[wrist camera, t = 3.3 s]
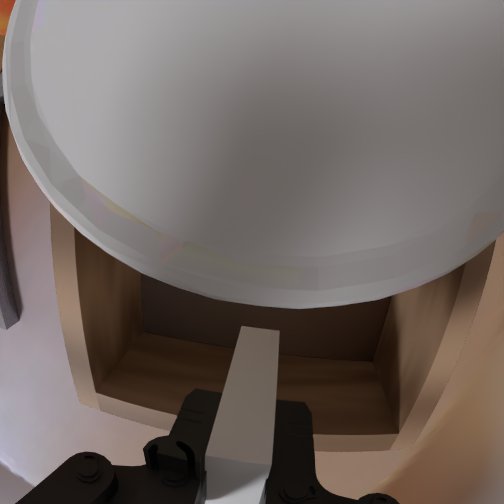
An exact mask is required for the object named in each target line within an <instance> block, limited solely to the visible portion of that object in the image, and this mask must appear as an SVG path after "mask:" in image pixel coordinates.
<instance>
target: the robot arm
mask: <svg viewBox="0 0 504 504" xmlns="http://www.w3.org/2000/svg"><path fill="white" fill-rule="evenodd" d="M278 353H279V331H277V330H269V329H261V328H254V327H246V326H241V330H240V333H239V337H238V340H237V344H236V348H235V351H234V355H233V358H232V362H231V366H230V369H229V373H228V376H227V380H226V383H225V387H224V390H223V393H220V392H214V391H208V390H203V389H197V388H195V389H194V390H193V391H192V392H191V393H189V394H188V395H187V396H186V397H185V399H184V401H183V403H182V406H181V409H180V410H179V413H178V415H177V419H176V420H175V422H174V424H173V427H172V429H171V431H170V434H169V436H168V435H167V436H162V437H157V438H155V439H153V440H151V441H149V442H148V443H147V444H146V446H145V447H144V448H143V452H144V456H145V461H146V464H145V465H142V466H118V465H112V464H111V462H110V461H109V460H108V459H106V458H105V457H104V456H102V455H100V454H98V453H94V452H82V453H77V454H75V455H73V456H72V457H70V458H69V459H68V460H66V461H65V462H64V463H63V464H62V465H61V466H59V467H58V468H57V469H56V470H55V471H54V472H52V473H51V474H50V475H49V476H48V477H47V478H45V479H44V480H43V481H42V482H41V483H39V484H38V485H37V486H36V487H35V488H33V489H32V490H31V491H30V492H29V493H28V494H26V495H25V496H24V497H23V498H22V499H20V500H19V501H18V502H17V503H15V504H399V503H398V502H397V500H396V499H394V498H392V497H391V496H389V495H386V494H381V493H373V494H367V495H365V496H363V497H361V498H359V500H355V499H350V498H346V497H342V496H338V495H335V494H333V493H330V492H329V491H327V490H326V489H324V488H323V487H322V486H321V484H320V483H319V481H318V479H317V477H316V471H315V453H314V437H313V427H312V426H313V423H312V413H311V411H310V410H309V408H308V406H307V405H306V403H305V402H298V401H287V400H277V399H276V391H277V373H278Z"/></svg>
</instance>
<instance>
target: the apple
mask: <svg viewBox="0 0 504 504" xmlns="http://www.w3.org/2000/svg"><path fill="white" fill-rule="evenodd" d="M15 1H16V0H0V35H4V36H6V32H7V28H8V24H9V19H10V16H11V13H12V10H13V7H14V4H15Z"/></svg>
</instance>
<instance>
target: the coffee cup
mask: <svg viewBox="0 0 504 504" xmlns="http://www.w3.org/2000/svg"><path fill="white" fill-rule="evenodd" d="M2 74H3V92H4V100H5V108H6V113H7V116H8V120H9V123H10V126H11V130H12V133H13V135H14V138H15V141H16V144H17V146H18V149H19V152H20V154H21V157H22V159H23V161H24V163H25V165H26V166H27V168H28V170H29V171H30V173H31V174H32V176H33V178H34V179H35V181H36V183H37V184H38V186H39V187H40V188H41V190H42V191H43V192H44V194H45V195H46V196H47V198H48V199H49V200H50V202H51V203H52V204H53V205H54V207H55V208H56V209H57V210H58V211H59V212H60V213H61V214H62V215H63V216H64V217H65V218H66V219H67V220H68V221H69V222H70V223H71V224H72V225H73V226H74V227H75V228H76V229H77V230H78V231H79V232H80V233H81V234H83V235H84V236H85V237H87V238H88V239H89V240H91V241H92V242H93V243H95V244H96V245H97V246H99V247H100V248H101V249H103V250H104V251H106V252H107V253H108V254H110V255H112V256H113V257H115V258H117V259H118V260H120V261H122V262H123V263H125V264H127V265H129V266H130V267H132V268H134V269H135V270H137V271H139V272H141V273H142V274H145V275H147V276H150V277H152V278H155V279H157V280H160V281H162V282H165V283H167V284H170V285H172V286H175V287H178V288H181V289H184V290H187V291H190V292H193V293H197V294H200V295H203V296H206V297H209V298H213V299H216V300H222V301H228V302H235V303H242V304H249V305H256V306H267V307H279V308H292V309H304V308H317V307H330V306H341V305H347V304H354V303H361V302H367V301H374V300H379V299H382V298H385V297H388V296H391V295H395V294H398V293H401V292H404V291H407V290H410V289H413V288H416V287H418V286H421V285H423V284H425V283H428V282H430V281H432V280H435V279H437V278H439V277H441V276H444V275H446V274H448V273H449V272H451V271H453V270H454V269H456V268H457V267H459V266H461V265H462V264H464V263H465V262H467V261H469V260H470V259H472V258H473V257H475V256H476V255H478V254H479V253H480V252H481V251H483V250H484V249H485V248H486V247H487V246H489V245H490V244H491V243H492V242H493V241H495V240H496V239H497V238H498V237H499V236H500V235H501V234H502V233H503V232H504V0H16V1H15V4H14V7H13V10H12V13H11V16H10V19H9V24H8V28H7V32H6V37H5V44H4V52H3V62H2Z"/></svg>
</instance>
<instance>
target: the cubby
mask: <svg viewBox="0 0 504 504" xmlns="http://www.w3.org/2000/svg"><path fill="white" fill-rule="evenodd" d="M50 219H51V241H52V255H53V267H54V277H55V285H56V293H57V300H58V307H59V314H60V320H61V325H62V331H63V336H64V341H65V346H66V351H67V355H68V360H69V364H70V368H71V372H72V376H73V380H74V384H75V388H76V391H77V395H78V398H79V402H80V403H81V404H84V405H86V406H89V407H92V408H94V409H97V410H100V411H103V412H106V413H109V414H112V415H115V416H118V417H121V418H125V419H128V420H131V421H135V422H138V423H141V424H145V425H149V426H152V427H156V428H160V429H164V430H168V431H171V429H172V427H173V424H174V422H175V420H176V419H177V415H178V413H179V410H180V409H181V406H182V403H183V401H184V399H185V397H186V396H187V395H188V394H189V393H191V392H192V391H193V390H194V389H195V388H197V389H203V390H208V391H214V392H220V393H223V390H224V387H225V383H226V380H227V376H228V373H229V369H230V366H231V362H232V358H233V355H234V351H235V348H228V347H221V346H215V345H209V344H203V343H197V342H192V341H186V340H181V339H175V338H170V337H165V336H160V335H155V334H150V333H146V332H143V318H142V295H141V272H139V271H137V270H135V269H134V268H132V267H130V266H129V265H127V264H125V263H123V262H122V261H120V260H118V259H117V258H115V257H113V256H112V255H110V254H108V253H107V252H106V251H104V250H103V249H101V248H100V247H99V246H97V245H96V244H95V243H93V242H92V241H91V240H89V239H88V238H87V237H85V236H84V235H83V234H81V233H80V232H79V231H78V230H77V229H76V228H75V227H74V226H73V225H72V224H71V223H70V222H69V221H68V220H67V219H66V218H65V217H64V216H63V215H62V214H61V213H60V212H59V211H58V210H57V209H56V208H55V207H54V205H53V204H52V203H51V202H50ZM495 242H496V240H495V241H493V242H492V243H491V244H490V245H489V246H487V247H486V248H485V249H484V250H483V251H481V252H480V253H479V254H478V255H476V256H475V257H473V258H472V259H470V260H469V261H467V262H465V263H464V264H462V265H461V266H459V267H457V268H456V269H454V270H453V271H451V272H449V273H448V274H446V275H444V276H441V277H439V278H437V279H435V280H432V281H430V282H428V283H425V284H423V285H421V286H418V287H416V288H413V289H410V290H407V291H404V292H401V293H398V294H395V295H392V297H391V301H390V304H389V308H388V312H387V315H386V319H385V322H384V326H383V329H382V332H381V336H380V339H379V342H378V345H377V349H376V352H375V355H374V358H373V361H372V362H367V361H349V360H335V359H322V358H310V357H300V356H290V355H281V354H278V373H277V391H276V399H277V400H287V401H298V402H305V403H306V405H307V406H308V408H309V410H310V411H311V413H312V423H313V426H312V427H313V437H314V451H326V452H362V451H385V450H400V449H411V448H412V446H413V445H414V443H415V442H416V440H417V438H418V437H419V435H420V433H421V432H422V430H423V428H424V427H425V425H426V423H427V421H428V419H429V418H430V416H431V414H432V412H433V410H434V409H435V407H436V405H437V403H438V401H439V399H440V397H441V395H442V393H443V391H444V389H445V387H446V385H447V383H448V381H449V379H450V376H451V374H452V372H453V370H454V368H455V365H456V363H457V361H458V358H459V356H460V354H461V351H462V349H463V346H464V344H465V341H466V339H467V336H468V334H469V331H470V328H471V325H472V323H473V320H474V317H475V314H476V311H477V308H478V305H479V302H480V299H481V296H482V292H483V289H484V286H485V282H486V279H487V275H488V271H489V267H490V264H491V260H492V255H493V251H494V247H495Z"/></svg>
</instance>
